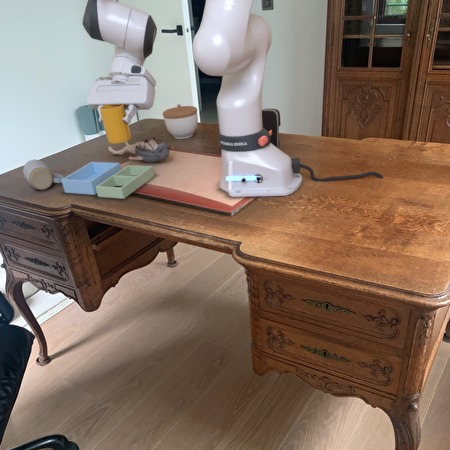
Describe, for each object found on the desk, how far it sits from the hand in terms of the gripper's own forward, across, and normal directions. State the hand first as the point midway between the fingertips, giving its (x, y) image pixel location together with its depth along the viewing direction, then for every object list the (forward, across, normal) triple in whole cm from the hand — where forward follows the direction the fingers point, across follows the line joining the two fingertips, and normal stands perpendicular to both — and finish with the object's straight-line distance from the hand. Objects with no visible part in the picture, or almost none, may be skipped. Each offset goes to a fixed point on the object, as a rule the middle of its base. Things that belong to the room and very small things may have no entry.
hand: (114, 122), depth 121 cm
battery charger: (-13, +33, +37) cm, 51 cm away
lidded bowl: (-19, -4, +44) cm, 48 cm away
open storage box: (+14, -10, +10) cm, 20 cm away
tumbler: (+3, 0, +4) cm, 5 cm away
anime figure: (-2, -7, +26) cm, 27 cm away
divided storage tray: (+14, +2, +10) cm, 17 cm away
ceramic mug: (+17, -26, +7) cm, 32 cm away
